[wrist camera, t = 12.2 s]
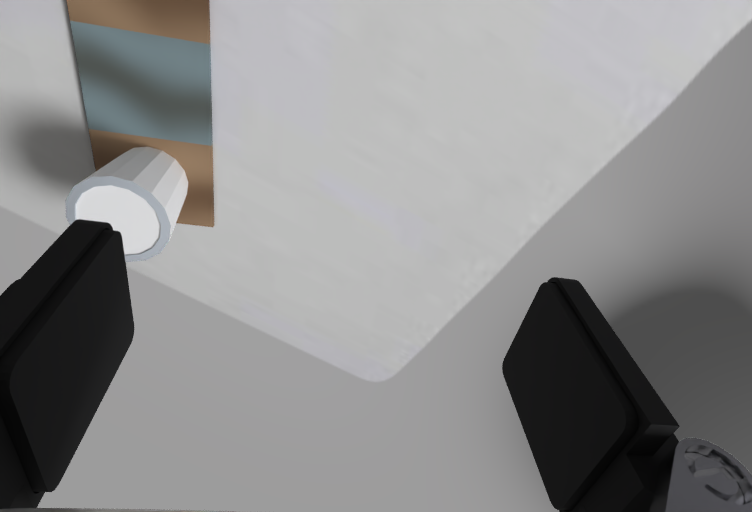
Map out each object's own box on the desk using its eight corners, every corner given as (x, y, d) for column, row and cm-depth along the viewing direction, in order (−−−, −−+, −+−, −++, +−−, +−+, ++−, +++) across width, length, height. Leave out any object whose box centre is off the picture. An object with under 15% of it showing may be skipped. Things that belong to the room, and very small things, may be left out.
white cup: (192, 143, 36) (164, 181, 30) (199, 219, 40) (175, 266, 34) (99, 133, 35) (52, 171, 30) (115, 212, 39) (76, 259, 33)
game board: (49, -120, 27) (45, -121, 27) (207, -87, 29) (205, -88, 28) (105, 212, 40) (103, 214, 39) (214, 224, 41) (213, 227, 41)
